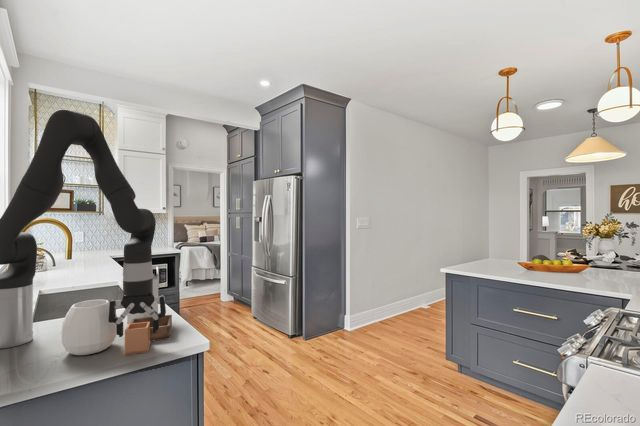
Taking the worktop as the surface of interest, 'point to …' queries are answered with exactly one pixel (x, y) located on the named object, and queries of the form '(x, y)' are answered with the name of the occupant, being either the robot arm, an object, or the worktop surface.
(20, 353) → the worktop surface
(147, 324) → the terracotta crate
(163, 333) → the walnut crate
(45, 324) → the worktop surface
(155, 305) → the milk carton
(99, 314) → the white round vase
